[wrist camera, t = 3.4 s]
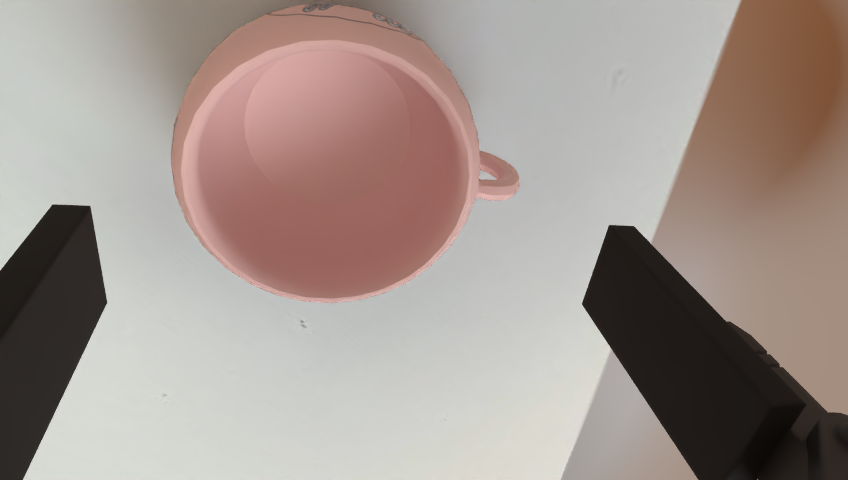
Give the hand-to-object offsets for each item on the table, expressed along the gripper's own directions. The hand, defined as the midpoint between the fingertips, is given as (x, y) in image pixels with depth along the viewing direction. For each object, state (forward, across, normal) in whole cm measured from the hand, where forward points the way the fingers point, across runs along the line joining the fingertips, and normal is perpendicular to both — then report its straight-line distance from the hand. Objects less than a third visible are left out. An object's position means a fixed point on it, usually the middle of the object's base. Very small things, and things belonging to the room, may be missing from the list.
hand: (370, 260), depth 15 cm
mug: (+10, 0, 0) cm, 10 cm away
